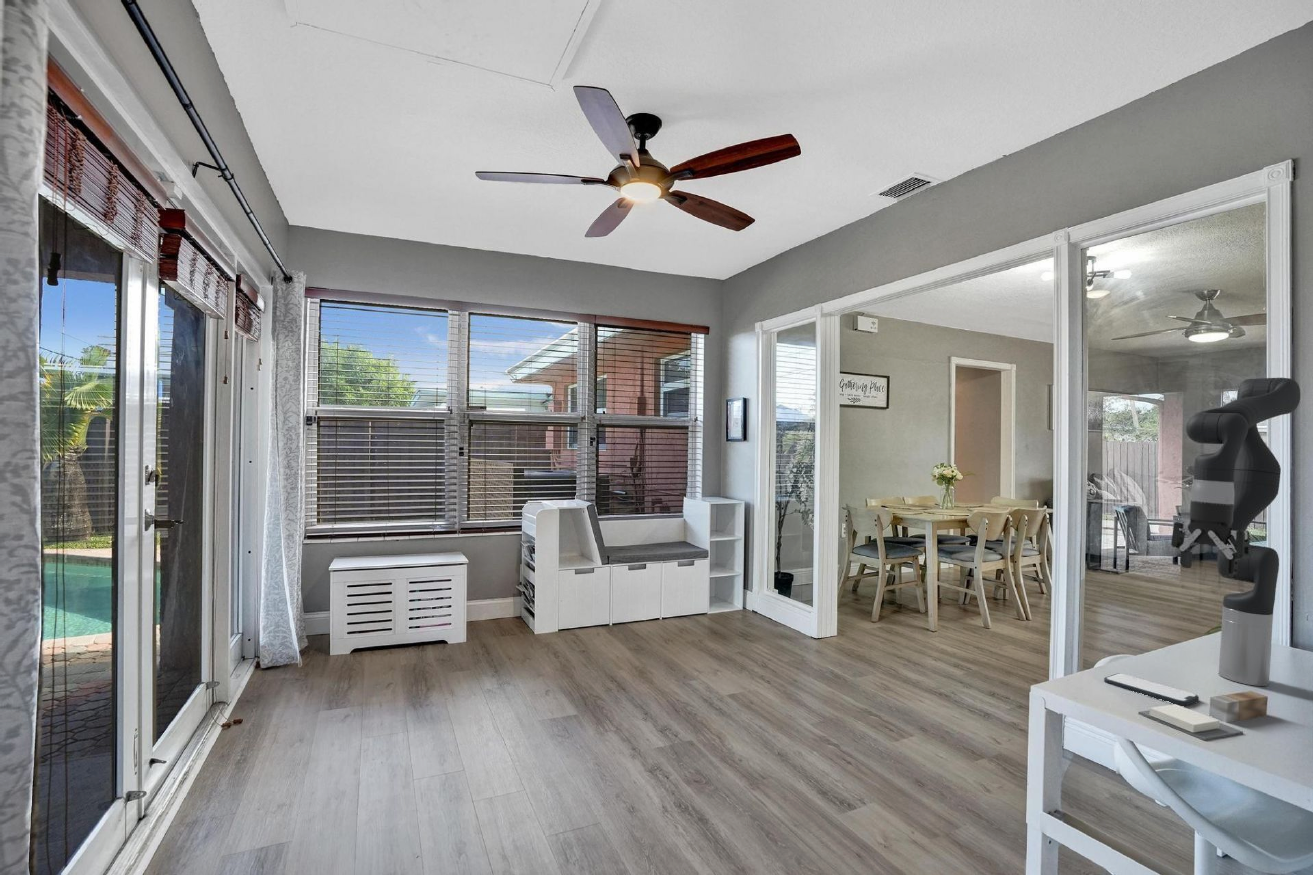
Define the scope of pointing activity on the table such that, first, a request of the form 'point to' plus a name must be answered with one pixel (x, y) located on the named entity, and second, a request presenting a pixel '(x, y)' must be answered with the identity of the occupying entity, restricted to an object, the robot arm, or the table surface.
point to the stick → (1238, 706)
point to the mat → (1204, 735)
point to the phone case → (1152, 689)
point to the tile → (1184, 718)
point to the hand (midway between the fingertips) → (1207, 571)
